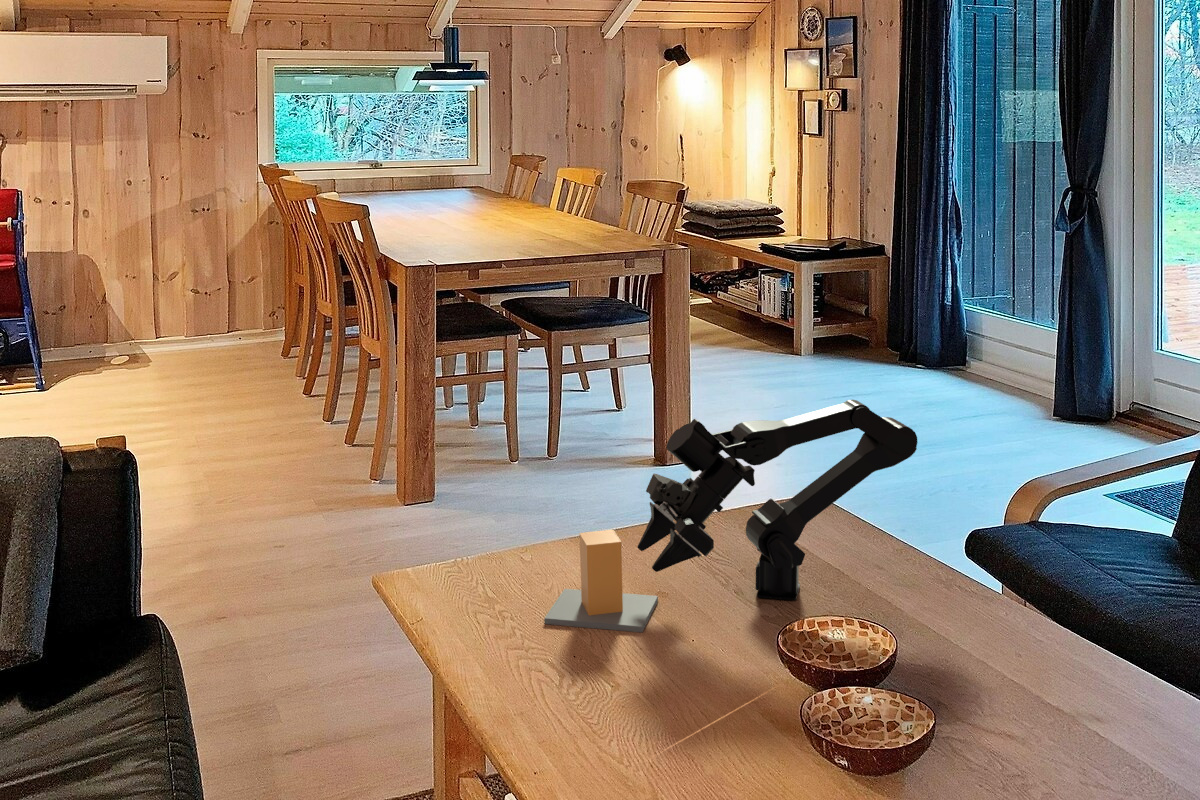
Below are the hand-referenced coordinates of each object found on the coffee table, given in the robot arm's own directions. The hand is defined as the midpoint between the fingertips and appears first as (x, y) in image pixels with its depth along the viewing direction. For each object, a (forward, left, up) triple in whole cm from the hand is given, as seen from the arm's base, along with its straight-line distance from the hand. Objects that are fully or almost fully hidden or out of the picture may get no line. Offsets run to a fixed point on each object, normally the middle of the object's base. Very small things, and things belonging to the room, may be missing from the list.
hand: (646, 559), depth 210 cm
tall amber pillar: (+7, +3, -7) cm, 11 cm away
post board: (+7, +3, -8) cm, 11 cm away
